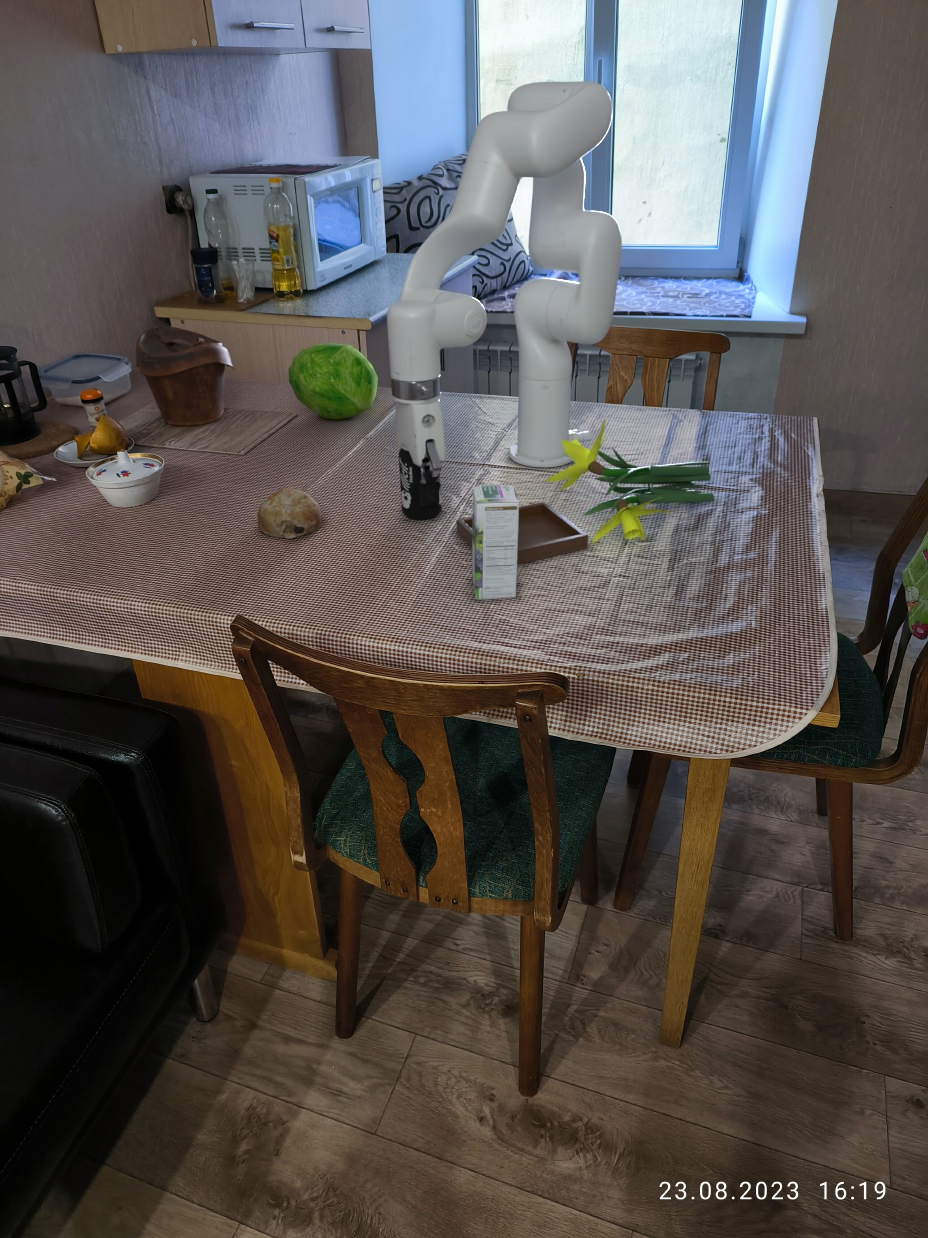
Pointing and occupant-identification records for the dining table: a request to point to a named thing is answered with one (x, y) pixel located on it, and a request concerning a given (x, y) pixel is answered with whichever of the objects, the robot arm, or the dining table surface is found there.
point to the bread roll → (289, 514)
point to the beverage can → (414, 489)
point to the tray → (538, 533)
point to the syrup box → (495, 541)
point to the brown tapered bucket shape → (183, 374)
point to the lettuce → (333, 380)
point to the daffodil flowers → (632, 475)
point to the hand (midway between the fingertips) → (421, 495)
